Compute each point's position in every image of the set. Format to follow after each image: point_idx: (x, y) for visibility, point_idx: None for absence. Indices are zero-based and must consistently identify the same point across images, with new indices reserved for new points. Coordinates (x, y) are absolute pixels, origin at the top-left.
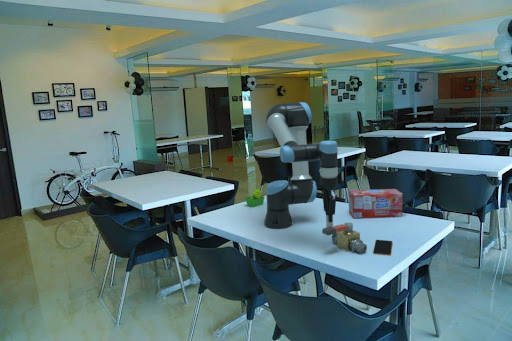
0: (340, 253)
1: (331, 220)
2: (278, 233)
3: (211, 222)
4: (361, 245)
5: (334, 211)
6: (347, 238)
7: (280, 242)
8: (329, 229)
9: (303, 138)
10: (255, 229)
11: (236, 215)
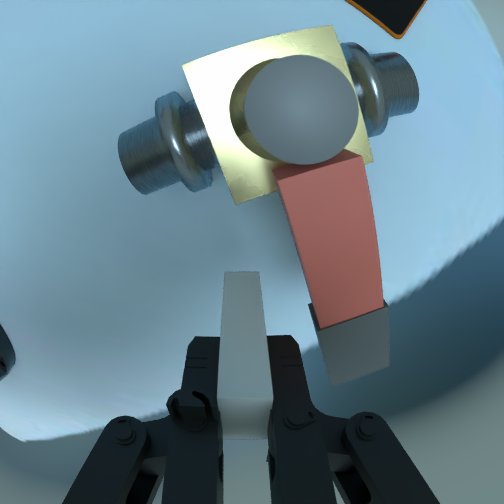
0: None
1: (299, 360)
2: (49, 361)
3: (23, 430)
4: (416, 94)
5: (403, 456)
6: None
7: (135, 383)
8: (373, 351)
9: None
10: (34, 393)
11: None
